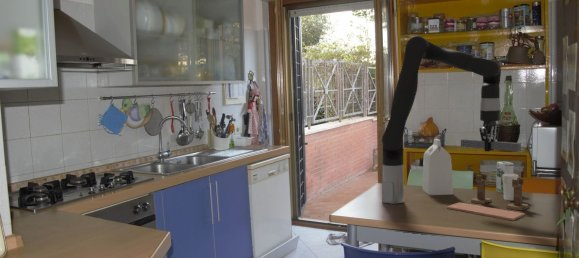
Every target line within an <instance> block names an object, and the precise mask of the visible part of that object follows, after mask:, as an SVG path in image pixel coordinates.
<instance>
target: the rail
mask: <svg viewBox="0 0 579 258" xmlns="http://www.w3.org/2000/svg"><path fill="white" fill-rule="evenodd" d="M490 143H491V147H490V149H494V151H495V150H496V151H509V152H510V151H511V152H521V151H522V142H509V141H497V140H495V141H491V142H490ZM460 147H461V148H473V149H483V150H485V142H484V141H482V140H481V139H467V138H464V139H460Z"/></svg>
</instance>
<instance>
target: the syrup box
mask: <svg viewBox="0 0 579 258" xmlns="http://www.w3.org/2000/svg"><path fill="white" fill-rule="evenodd" d="M514 169H515V168H514V163H513V162H511V161H510V162H509V161H497V162H496V185H495V187H496V190H495V191H496V192H497V193H501V194H504V191H503V179H502V175H503V174H514Z"/></svg>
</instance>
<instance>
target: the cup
mask: <svg viewBox="0 0 579 258" xmlns="http://www.w3.org/2000/svg"><path fill="white" fill-rule="evenodd" d="M517 178H519V175H518V174H515V173H513V174H503V175H502V179H503V191H504V193H503V199H504V200H505V201H514V187H512V180H513V179H514V180H517Z"/></svg>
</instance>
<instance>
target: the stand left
mask: <svg viewBox="0 0 579 258" xmlns="http://www.w3.org/2000/svg"><path fill="white" fill-rule="evenodd" d="M487 176H488V175H487V173H480V175H478V174H476V175H475V183H477V184H476V185H477V186H476V189H477V191H476V195H477V196H476V197H474V198H471V199H470V203H475V204H479V205H480V204H481V205H486V204H488V202H489V203H491V202H492V200H493V199H492V198H488V197H486V182H487V180H488V179H487Z"/></svg>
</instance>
